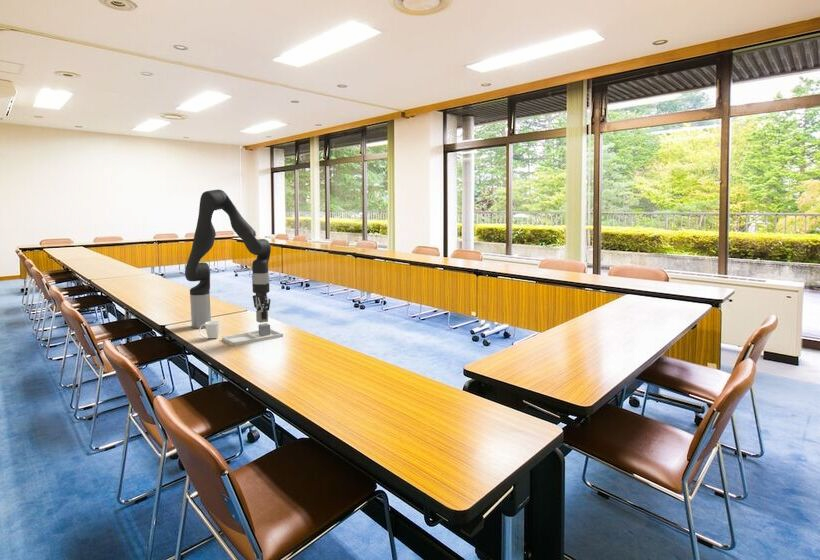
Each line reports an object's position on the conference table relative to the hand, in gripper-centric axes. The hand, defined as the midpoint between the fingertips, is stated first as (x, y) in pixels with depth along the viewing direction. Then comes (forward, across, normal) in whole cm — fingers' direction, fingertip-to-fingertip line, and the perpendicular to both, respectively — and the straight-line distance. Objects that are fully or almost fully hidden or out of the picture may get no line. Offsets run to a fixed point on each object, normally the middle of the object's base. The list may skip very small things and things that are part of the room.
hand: (262, 318), depth 217 cm
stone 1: (+2, 0, 0) cm, 2 cm away
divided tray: (+10, -3, -3) cm, 11 cm away
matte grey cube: (+10, -6, +4) cm, 12 cm away
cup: (+10, -16, -18) cm, 27 cm away
